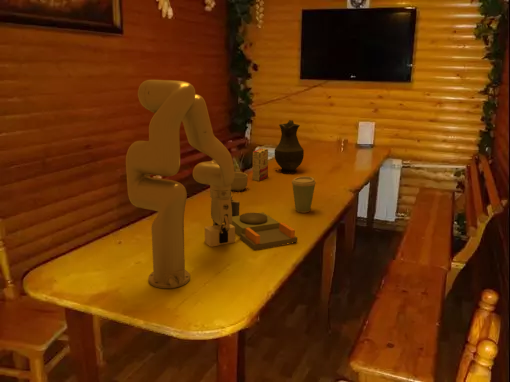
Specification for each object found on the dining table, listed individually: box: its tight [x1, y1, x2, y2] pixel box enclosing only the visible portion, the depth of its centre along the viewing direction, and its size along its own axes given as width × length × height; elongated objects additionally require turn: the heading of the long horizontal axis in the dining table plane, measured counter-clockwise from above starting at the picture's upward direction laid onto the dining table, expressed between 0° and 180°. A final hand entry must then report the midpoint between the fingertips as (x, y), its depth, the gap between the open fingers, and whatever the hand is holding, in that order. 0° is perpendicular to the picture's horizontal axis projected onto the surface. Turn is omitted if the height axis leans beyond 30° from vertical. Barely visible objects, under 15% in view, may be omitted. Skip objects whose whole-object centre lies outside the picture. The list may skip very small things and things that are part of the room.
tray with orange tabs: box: [231, 211, 298, 251], centre depth 183 cm, size 26×18×5 cm
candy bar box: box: [252, 147, 269, 182], centre depth 265 cm, size 11×5×16 cm, turn 155°
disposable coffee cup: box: [291, 175, 317, 214], centre depth 212 cm, size 11×11×15 cm
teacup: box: [231, 171, 249, 192], centre depth 245 cm, size 14×11×8 cm
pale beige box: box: [204, 224, 236, 248], centre depth 175 cm, size 5×10×6 cm, turn 119°
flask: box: [230, 195, 241, 217], centre depth 198 cm, size 9×3×11 cm, turn 50°
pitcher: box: [274, 119, 305, 174], centre depth 282 cm, size 17×21×30 cm
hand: (220, 239), depth 176 cm, fingers closed on pale beige box, 5 cm apart
